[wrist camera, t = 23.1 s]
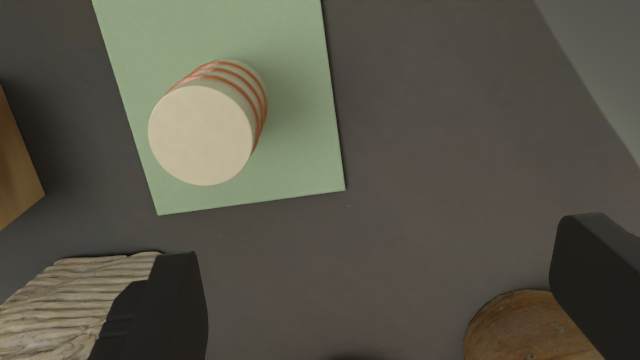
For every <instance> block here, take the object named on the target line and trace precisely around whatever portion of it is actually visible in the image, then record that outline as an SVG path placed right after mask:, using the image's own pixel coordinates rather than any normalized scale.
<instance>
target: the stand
mask: <svg viewBox="0 0 640 360" xmlns="http://www.w3.org/2000/svg"><path fill="white" fill-rule="evenodd" d="M44 196H45V193H44V191H43V188H42V186H41V183H40V181H39V178H38V176H37V173H36V171H35V168H34V166H33V163H32V161H31V158H30V156H29V153H28V151H27V148H26V146H25V143H24V141H23V139H22V136H21V134H20V131H19V129H18V126H17V124H16V121H15V119H14V116H13V114H12V111H11V109H10V106H9V104H8V101H7V99H6V96H5V94H4V91H3V89H2V86H1V84H0V231H1V230H2V229H4V228H5V227H6V226H7V225H9V224H10V223H11V222H12V221H14V220H15V219H16V218H17V217H19V216H20V215H21V214H22V213H24V212H25V211H26V210H27V209H29V208H30V207H31V206H32V205H34V204H35V203H36V202H37V201H39V200H40V199H41V198H42V197H44Z"/></svg>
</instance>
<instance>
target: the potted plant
mask: <svg viewBox="0 0 640 360" xmlns="http://www.w3.org/2000/svg"><path fill="white" fill-rule="evenodd" d="M464 360H605V359H604V358H603V357H602V355H601V354H600V353H599V352H598V351H597V349H596V348H595V347H594V346H593V345H592V343H591V342H590V341H589V340H588V339H587V337H586V336H585V335H584V334H583V333H582V331H581V330H580V329H579V328H578V327H577V326H576V324H575V323H574V322H573V321H572V320H571V318H570V317H569V316H568V315H567V314H566V312H565V311H564V310H563V309H562V308H561V306H560V305H559V304H558V303H557V301H556V300H555V298H554V296H553V294H552V292H549V291H543V290H530V289H523V290H517V291H513V292H510V293H507V294H504V295H498V296H497V297H496V298H494V299H493V300H492V301H490V302H489V303H488V304H486V305H485V306H484V307H483V308H482V309H481V310H480V311H479V313H478V314H477V315H476V316H475V317H474V318H473V319H472V321H471V323H470V324H469V327H468V329H467V332H466V334H465V337H464Z"/></svg>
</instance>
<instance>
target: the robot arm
mask: <svg viewBox="0 0 640 360" xmlns="http://www.w3.org/2000/svg"><path fill="white" fill-rule="evenodd" d="M549 284H550V288H551V292H552V294H553V296H554V298H555V300H556V301H557V303H558V304H559V305H560V306H561V308H562V309H563V310H564V311H565V312H566V314H567V315H568V316H569V317H570V318H571V320H572V321H573V322H574V323H575V324H576V326H577V327H578V328H579V329H580V330H581V331H582V333H583V334H584V335H585V336H586V337H587V339H588V340H589V341H590V342H591V343H592V345H593V346H594V347H595V348H596V349H597V351H598V352H599V353H600V354H601V355H602V357H603V358H604V359H605V360H640V237H637V236H635V235H633V234H631V233H629V232H627V231H626V230H624V229H623V228H622V227H621V226H619V225H618V224H617V223H615V222H614V221H613V220H611V219H610V218H609V217H608V216H606V215H605V214H603V213H589V214H579V215H568V216H564V217H563V218H562V219H561V220H560V222H559V224H558V229H557V234H556V239H555V244H554V250H553V255H552V260H551V266H550V271H549ZM207 341H208V313H207V306H206V301H205V296H204V291H203V286H202V280H201V275H200V270H199V265H198V260H197V256H196V254H195V252H194V251H190V252H179V253H169V254H159V255H157V256H156V258H155V261H154V264H153V266H152V269H151V272H150V274H149V277H148V280H140V281H132V282H131V283H130V284H129V285H128V286H127V287H126V288H125V289H124V290H123V291H122V292H121V293H120V294H119V295H118V296H117V297H116V298H115V299H114V301H113V303H112V306H111V308H110V310H109V312H108V314H107V317H106V322H104V323H103V326H102V328H101V330H100V332H99V338H98V339H96V341H95V344H94V346H93V348H92V350H91V353H90V355H89V357H88V359H87V360H205V354H206V347H207Z"/></svg>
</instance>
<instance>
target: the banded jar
mask: <svg viewBox="0 0 640 360" xmlns="http://www.w3.org/2000/svg"><path fill="white" fill-rule="evenodd" d="M267 108H268V92H267V88H266V85H265V83H264V81H263V79H262V78H261V76H260V75H259V74H258V72H257V71H256V70H255V69H253V68H252V67H251V66H250V65H248V64H246V63H244V62H242V61H239V60H236V59H231V58H221V59H216V60H213V61H210V62H208V63H206V64H203V65H201V66H199V67H197V68H196V69H195V70H193V71H192V72H191V73H190V74H188V75H187V76H185V77H184V78H183V79H182V80H181V81H179V82H178V83H176V84H175V85H173V86H172V87H171V88H170V89H169V90H168V91H167V93H166V94H165V95H164V97H162V98H161V99H160V100H159V101H158V103H157V104H156V105H155V107H154V109H153V110H152V112H151V115H150V118H149V122H148V131H147V132H148V140H149V145H150V148H151V150H152V153H153V155H154V157H155V158H156V160H157V161H158V163H159V164H160V165H161V166H162V167H163V168H164V169H165V170H166V171H167V172H168V173H169V174H171V175H172V176H174V177H175V178H177V179H179V180H181V181H183V182H186V183H189V184H193V185H199V186H211V185H217V184H221V183H224V182H226V181H228V180H230V179H232V178H233V177H235V176H236V175H237V174H238V173H239V172H241V170H242V169H243V168H244V167H245V165H246V164H247V162H248V160H249V158H250V156H251V155H252V153H253V152H254V150H255V148H256V146H257V143H258V140H259V136H260V134H261V132H262V128H263V125H264V123H265V120H266V117H267Z"/></svg>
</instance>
